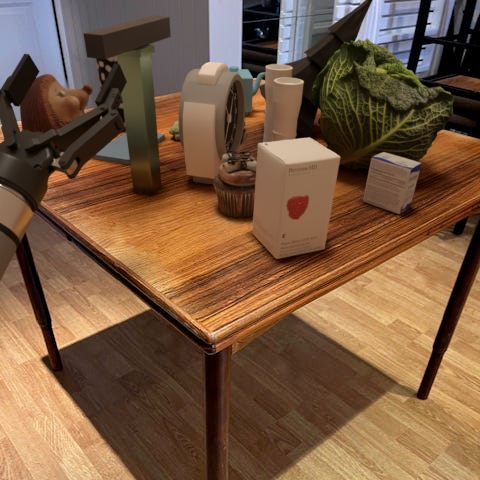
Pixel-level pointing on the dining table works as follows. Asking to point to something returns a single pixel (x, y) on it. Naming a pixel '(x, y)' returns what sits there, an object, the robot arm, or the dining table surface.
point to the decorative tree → (322, 62)
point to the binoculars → (281, 103)
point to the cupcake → (236, 184)
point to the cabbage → (376, 106)
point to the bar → (126, 36)
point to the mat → (118, 150)
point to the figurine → (52, 105)
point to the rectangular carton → (293, 195)
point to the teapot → (248, 85)
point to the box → (391, 182)
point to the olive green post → (141, 119)
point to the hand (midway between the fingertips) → (75, 67)
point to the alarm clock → (210, 118)
